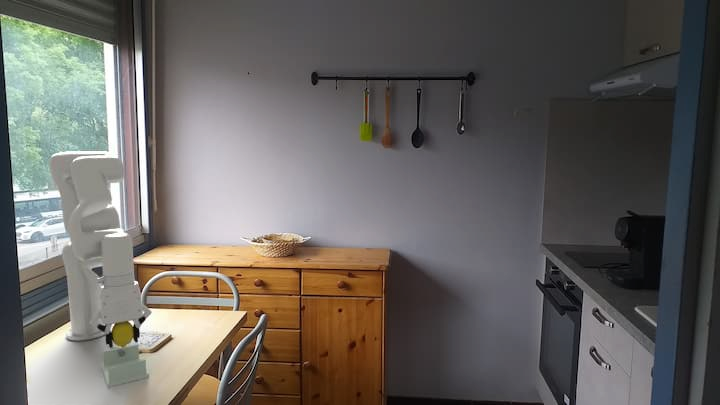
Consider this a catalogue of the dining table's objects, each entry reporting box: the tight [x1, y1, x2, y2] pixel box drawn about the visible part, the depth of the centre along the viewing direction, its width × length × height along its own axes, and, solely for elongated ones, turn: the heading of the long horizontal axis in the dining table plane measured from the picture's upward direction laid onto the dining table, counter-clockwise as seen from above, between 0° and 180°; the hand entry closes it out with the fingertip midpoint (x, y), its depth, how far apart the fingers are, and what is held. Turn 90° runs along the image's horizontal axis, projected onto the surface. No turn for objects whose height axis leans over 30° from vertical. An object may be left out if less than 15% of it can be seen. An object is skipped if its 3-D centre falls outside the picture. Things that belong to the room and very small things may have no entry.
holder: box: [101, 342, 150, 388], centre depth 132 cm, size 13×10×5 cm
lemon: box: [111, 321, 134, 348], centre depth 131 cm, size 6×6×8 cm
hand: (123, 342), depth 131 cm, fingers closed on lemon, 5 cm apart
